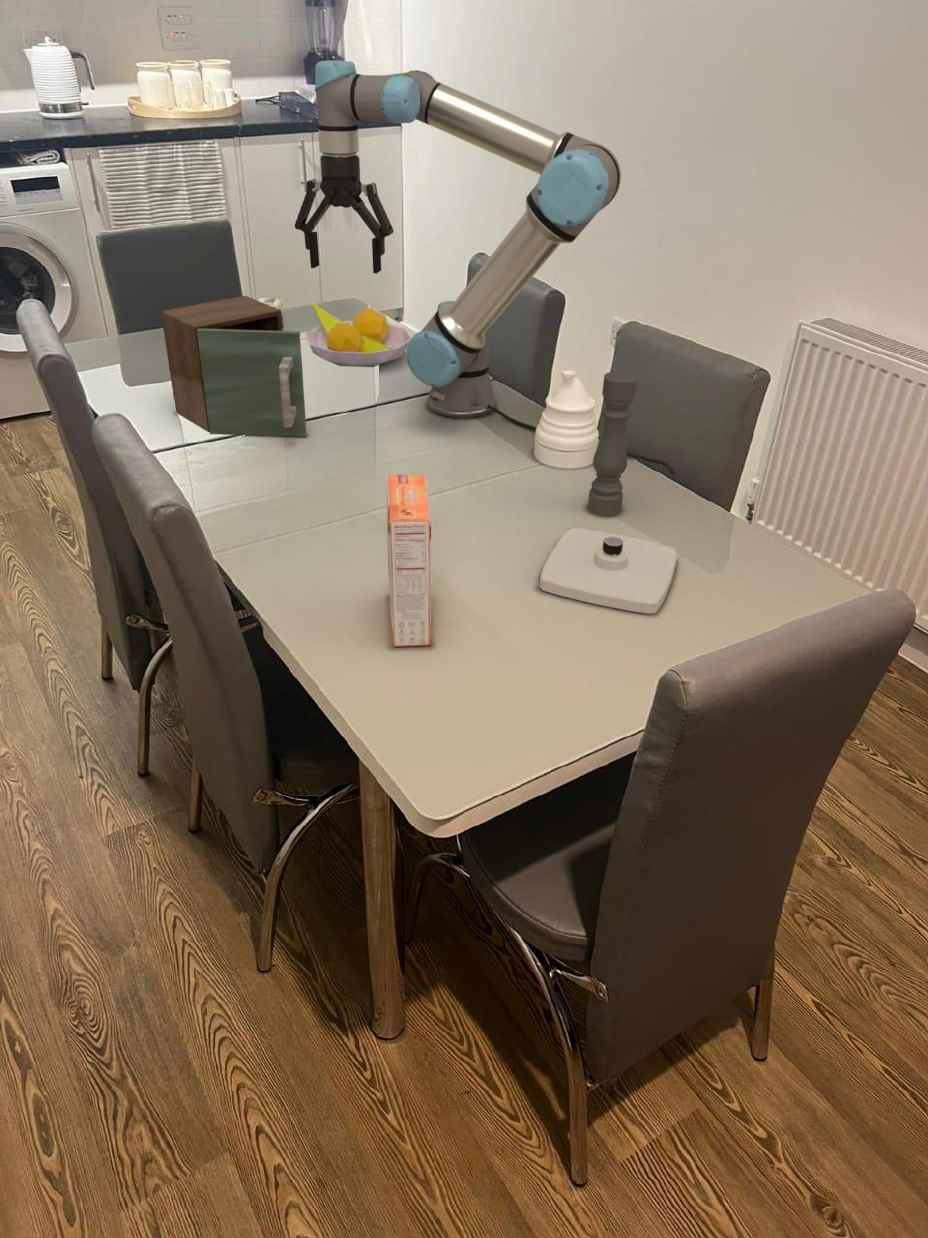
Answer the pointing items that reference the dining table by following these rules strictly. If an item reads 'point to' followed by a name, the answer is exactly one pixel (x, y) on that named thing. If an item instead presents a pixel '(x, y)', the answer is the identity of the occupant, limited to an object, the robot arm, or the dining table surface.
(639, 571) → the showerhead
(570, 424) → the honey pot
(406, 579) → the cracker box
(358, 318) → the fruit bowl
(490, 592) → the dining table surface
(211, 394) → the cupboard door
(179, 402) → the cupboard
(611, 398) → the candle holder
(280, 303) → the syrup box
